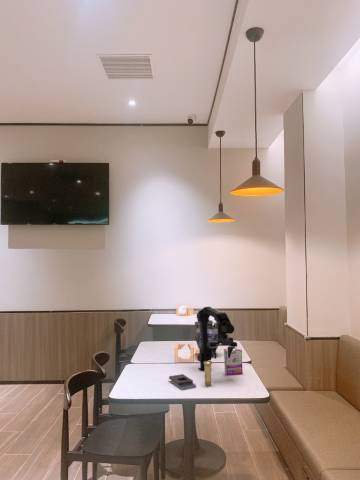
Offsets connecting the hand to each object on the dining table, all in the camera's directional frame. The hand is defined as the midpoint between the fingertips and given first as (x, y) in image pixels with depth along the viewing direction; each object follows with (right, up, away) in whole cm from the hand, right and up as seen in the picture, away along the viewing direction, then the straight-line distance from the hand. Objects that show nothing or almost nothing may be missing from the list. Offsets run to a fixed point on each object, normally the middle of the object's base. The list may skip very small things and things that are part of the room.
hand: (222, 358), depth 224 cm
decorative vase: (-4, -18, +60) cm, 63 cm away
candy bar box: (+9, -15, +13) cm, 22 cm away
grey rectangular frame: (-25, -14, -6) cm, 29 cm away
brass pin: (-9, -13, -8) cm, 19 cm away
